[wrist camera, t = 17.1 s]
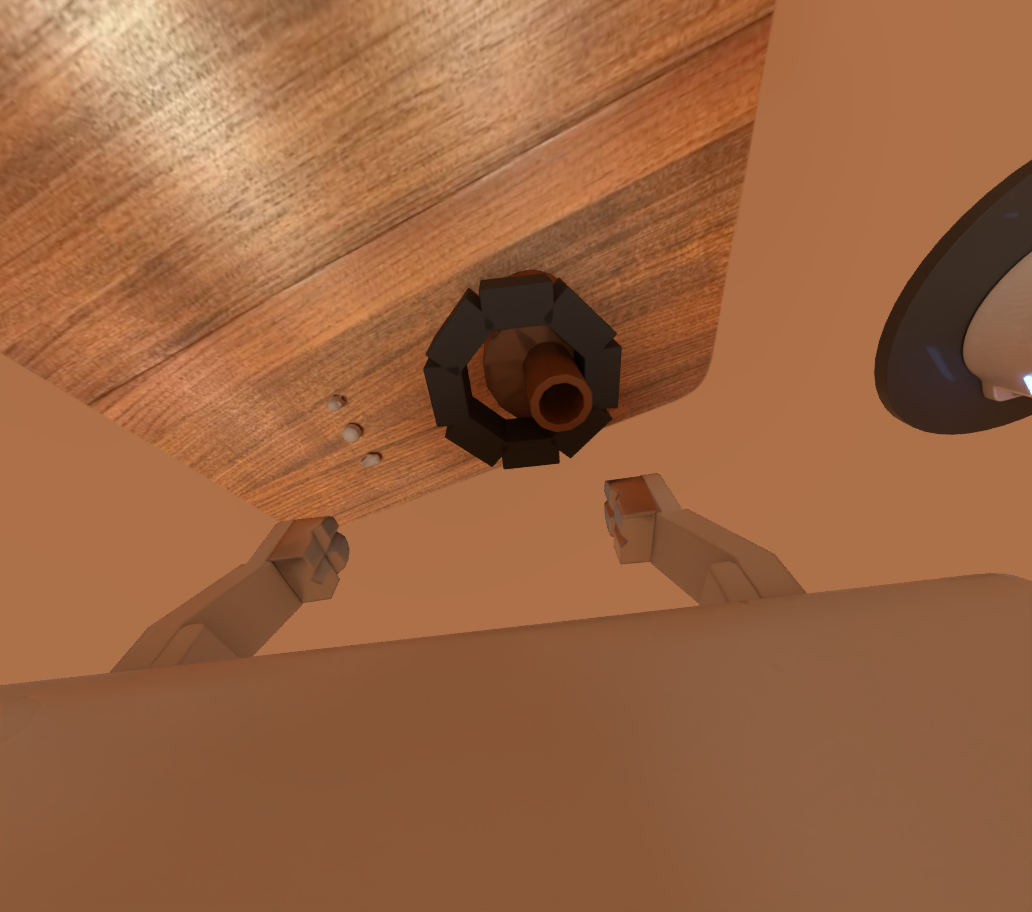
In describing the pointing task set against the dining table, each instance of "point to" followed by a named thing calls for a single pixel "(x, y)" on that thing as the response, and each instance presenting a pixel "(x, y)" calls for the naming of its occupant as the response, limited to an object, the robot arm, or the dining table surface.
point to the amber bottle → (536, 375)
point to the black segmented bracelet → (509, 309)
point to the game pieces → (352, 431)
